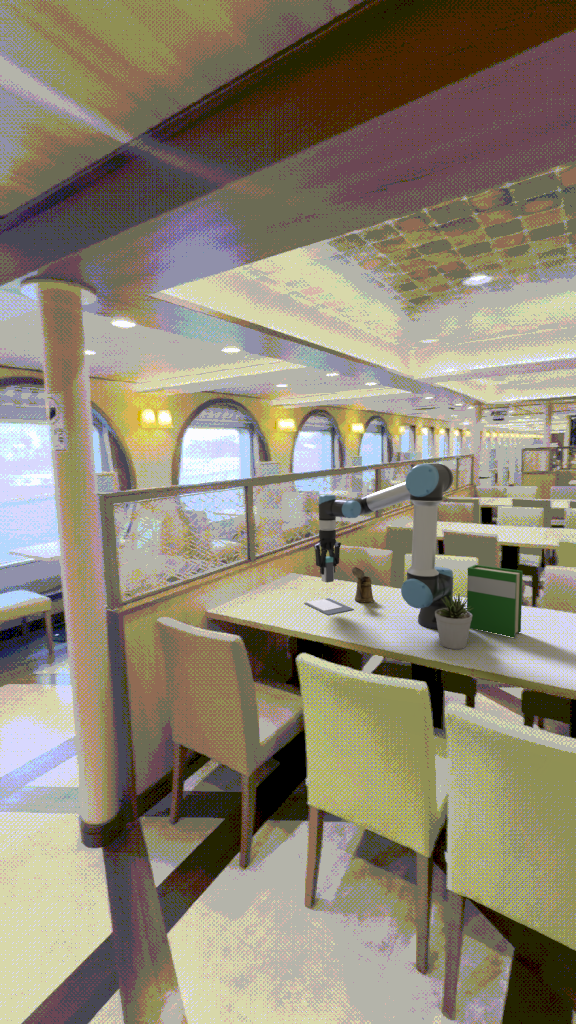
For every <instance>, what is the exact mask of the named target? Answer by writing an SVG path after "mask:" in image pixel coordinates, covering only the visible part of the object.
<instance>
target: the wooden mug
mask: <svg viewBox="0 0 576 1024" xmlns="http://www.w3.org/2000/svg"><path fill="white" fill-rule="evenodd" d="M351 573H352V575H353V576H354V577H356V578H357V580H356V591H355V596H354V601H355V602H356V603H363V604H369V603H370V604H371V603H372V602H374V595H373V588H372V579H371V578H372V577H370V576H368V575H365V572H364V571H363V570H362V569H361V568H359V567H356V566H355V567H353V568H352V569H351Z"/></svg>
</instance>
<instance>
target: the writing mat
mask: <svg viewBox="0 0 576 1024" xmlns="http://www.w3.org/2000/svg"><path fill="white" fill-rule="evenodd" d="M303 604H304V605H306V606H308V607H310V608H312V609H314V608H315V609H314V610H316V611H318V610H319V611H318V612H319V613H322V614H324V613H325V615H326V614H327V615H326V616H331V615H330V614H332V615H335V613H337V614H339V613H340V612H341V613H344V611H346V612H349V610H351V611H355V610H354V608H352V607H350V606H347V605H345V604H343V603H342V602H341V603H340V602H338V601H336V600H334V599H332V598H329V597H328V598H322V599H316V600H311V601H306V602H304V603H303ZM341 613H340V614H341Z"/></svg>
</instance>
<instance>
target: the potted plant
mask: <svg viewBox="0 0 576 1024" xmlns="http://www.w3.org/2000/svg"><path fill="white" fill-rule="evenodd" d="M467 596H468V595H467V594H466V596H465V599H464V601H463V602H462V600H463V598H461V597H460V594H458V595H456V597H455V596H453V599H452V595H451V597H450V596H449V597H450V598H451V603H450V602H449V600H448V599H447V598H446V597H444V598H446V599H447V600H446V599H445V601H446V603H445V602H444V601H443V602H444V603H445V605H446V606H447V608H442V609H438V610H436V611H435V617H436V621H437V628H438V629H437V633H438V640H439V643H440V645H441V646H442V647H445V648H447V649H452V650H461V649H464V648H466V646H467V643H468V638H469V633H470V629H471V628H470V624H471V621H472V614H471V613H470V612H468V611H469V610H471V609H469V610H467V609H468V608H469V607H467V600H468V598H467ZM447 601H448V602H447ZM470 607H471V606H470ZM472 609H473V608H472Z"/></svg>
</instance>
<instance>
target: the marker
mask: <svg viewBox="0 0 576 1024" xmlns="http://www.w3.org/2000/svg"><path fill="white" fill-rule="evenodd" d="M325 567H326V582H325V583H332V582H333V583H334V581H333V557H330V556H329V555H328V556H327V555H326V560H325Z"/></svg>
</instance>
